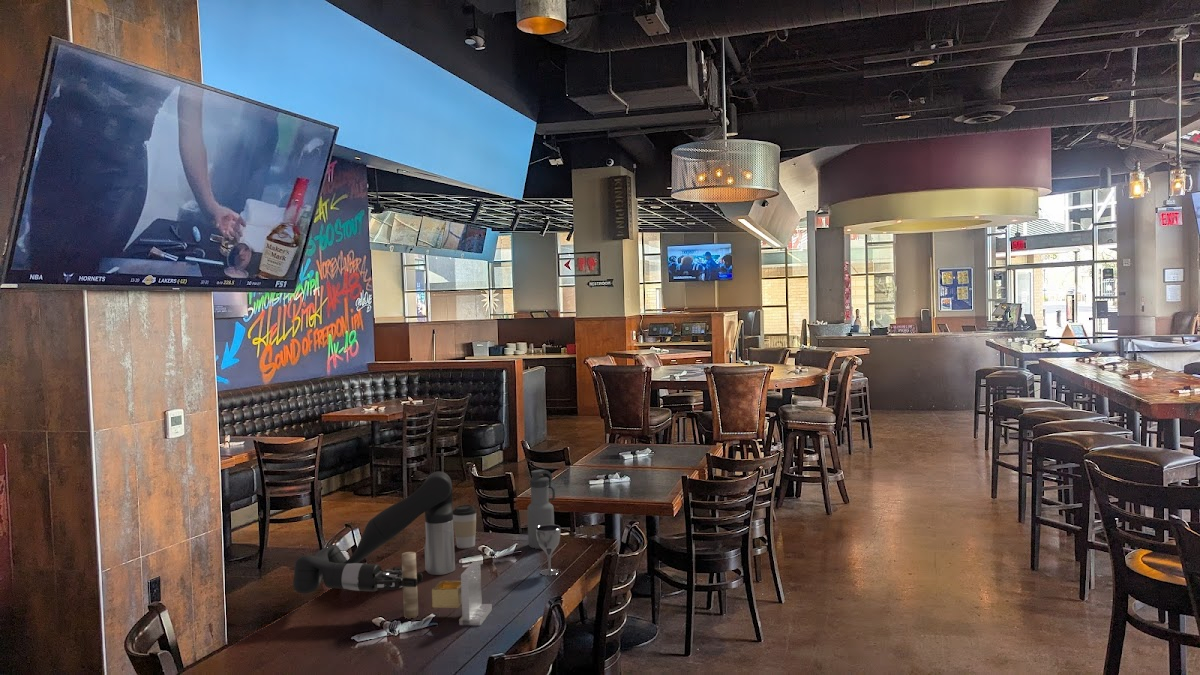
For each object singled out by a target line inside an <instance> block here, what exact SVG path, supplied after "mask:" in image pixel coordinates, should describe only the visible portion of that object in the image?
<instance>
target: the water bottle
mask: <svg viewBox="0 0 1200 675" xmlns="http://www.w3.org/2000/svg"><path fill="white" fill-rule="evenodd" d="M530 475H531V478H530V479H529V487H530V503H529V505H528V506H527V508H526V509H527V511H526V512H527V513H526V514H527V515H526V516H527V517H526V518H527V535H528V536H527V537H528V539H527V540H528V542H527V543H528V546H529V547H530V548H532V549H534V548H535V549H536V550H543V549H542V548H541V547H540V546H539V544H538V541H537V535H536V528H537V527H538V526H541V525H547V524H553V525H555V512H554V511H555V509H554V508H555V507H554V505H553V504H552V503H551V502H550V501H554V500H555V499H556V495H555V494H556V492H555V491H556V490H555V487H554V486H552V482H553V475H552V473H551V472H550V471H549V470H547V469H534V470H531V471H530ZM549 489H551V491H552V497H550V495H549V494H550V493H549ZM535 549H534V550H535Z"/></svg>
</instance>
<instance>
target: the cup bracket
mask: <svg viewBox="0 0 1200 675" xmlns="http://www.w3.org/2000/svg"><path fill="white" fill-rule="evenodd" d="M481 569H482V568H481V560H478V561H477V560H474V561H472V562H471V563H470V564H469V565H468V566H467V567H466V569H464V571H463V572H462V573H461V574H460V580H440V581H439V582H438V583H437V584H436V585H435V586H434V587H433V588H432V589H431V601H432V602H431V603H432V606H431V607H432V608H438V609H439V608H441V609H442V608H443V609H446V608H450V609H452V608H454V609H456V608H457V609H458V608H460V607H461V613H462V614H461V616H460V618H459V619H458V622H459V623H458V625H459V626H481V625H483V622H485V620H486V619H487V617H488V615H490V613H491V612H492V610H493V604H492V603H483V600H482V596H483V595H482V572H481Z"/></svg>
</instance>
